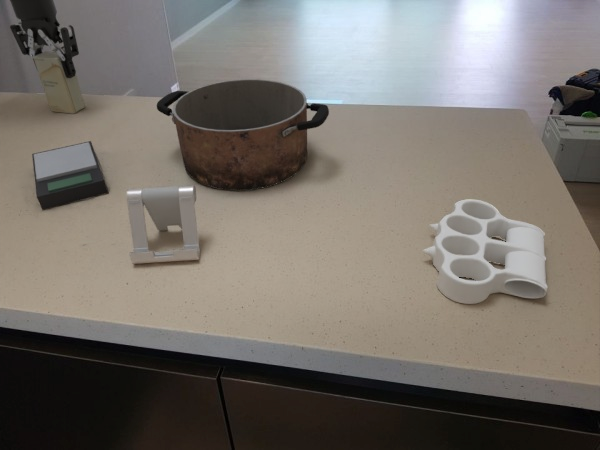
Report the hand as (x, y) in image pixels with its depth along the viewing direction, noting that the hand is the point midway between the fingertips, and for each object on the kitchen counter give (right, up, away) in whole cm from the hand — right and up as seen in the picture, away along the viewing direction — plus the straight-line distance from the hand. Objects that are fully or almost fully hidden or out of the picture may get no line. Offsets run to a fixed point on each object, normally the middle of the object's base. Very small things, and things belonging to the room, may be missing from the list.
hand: (58, 75), depth 99 cm
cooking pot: (+43, -21, -16) cm, 50 cm away
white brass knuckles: (+76, -37, -39) cm, 93 cm away
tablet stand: (+35, -36, -35) cm, 61 cm away
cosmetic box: (0, -6, +5) cm, 8 cm away
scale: (+13, -25, -20) cm, 34 cm away
